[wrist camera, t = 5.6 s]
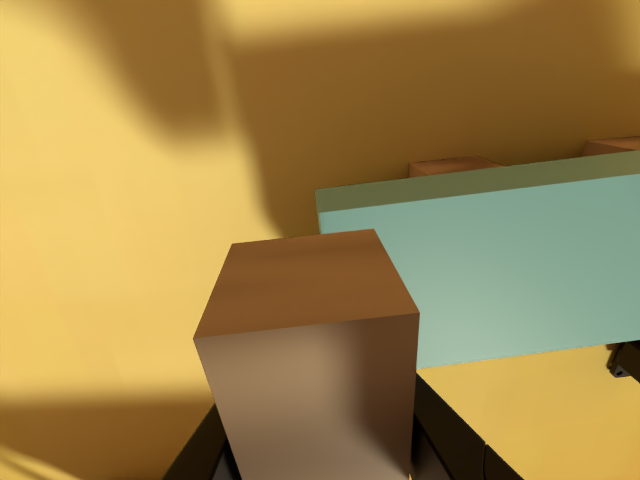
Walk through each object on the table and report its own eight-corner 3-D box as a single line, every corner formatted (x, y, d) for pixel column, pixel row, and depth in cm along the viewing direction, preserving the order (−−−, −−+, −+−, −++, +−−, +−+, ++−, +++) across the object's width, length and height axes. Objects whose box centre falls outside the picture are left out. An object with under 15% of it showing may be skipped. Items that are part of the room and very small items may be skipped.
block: (376, 413, 12) (405, 532, 9) (275, 425, 12) (267, 550, 9) (373, 228, 9) (420, 312, 6) (231, 243, 9) (192, 338, 5)
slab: (694, 143, 15) (783, 156, 12) (630, 298, 19) (686, 333, 16) (314, 189, 14) (318, 213, 12) (331, 336, 18) (337, 379, 16)
